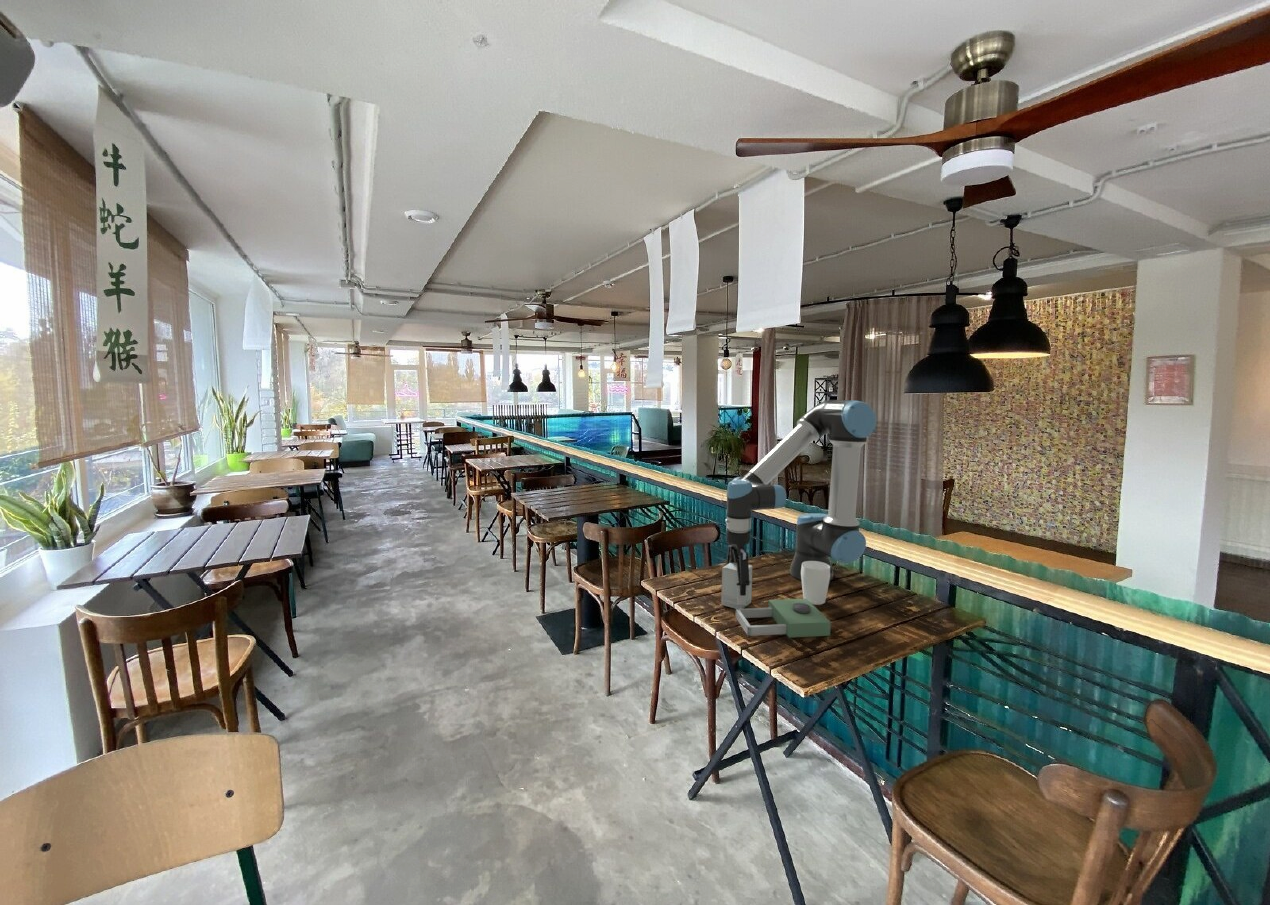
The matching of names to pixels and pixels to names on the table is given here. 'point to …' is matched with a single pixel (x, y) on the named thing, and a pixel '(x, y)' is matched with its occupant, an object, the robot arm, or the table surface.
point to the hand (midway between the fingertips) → (736, 597)
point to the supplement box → (733, 586)
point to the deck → (786, 619)
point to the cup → (815, 581)
